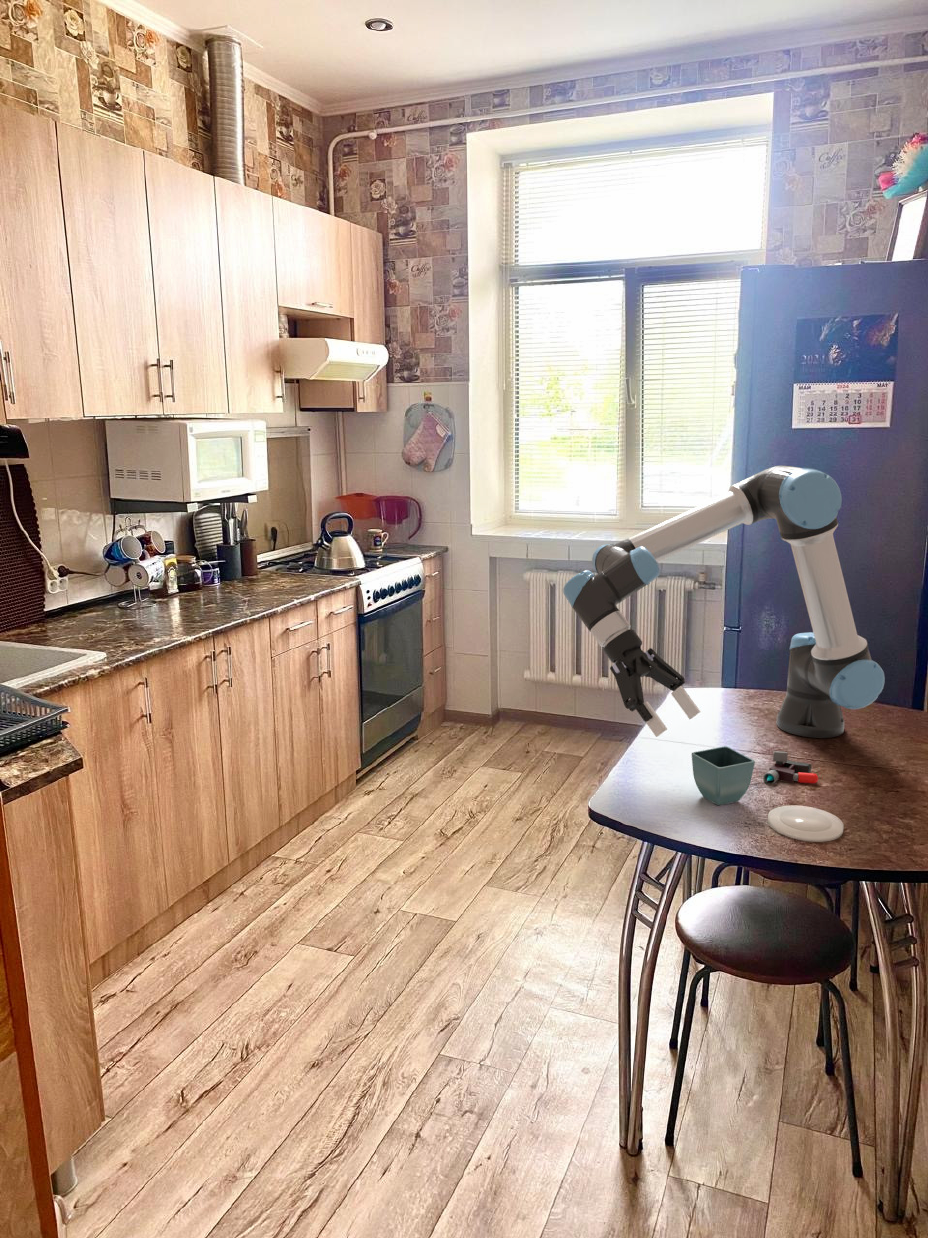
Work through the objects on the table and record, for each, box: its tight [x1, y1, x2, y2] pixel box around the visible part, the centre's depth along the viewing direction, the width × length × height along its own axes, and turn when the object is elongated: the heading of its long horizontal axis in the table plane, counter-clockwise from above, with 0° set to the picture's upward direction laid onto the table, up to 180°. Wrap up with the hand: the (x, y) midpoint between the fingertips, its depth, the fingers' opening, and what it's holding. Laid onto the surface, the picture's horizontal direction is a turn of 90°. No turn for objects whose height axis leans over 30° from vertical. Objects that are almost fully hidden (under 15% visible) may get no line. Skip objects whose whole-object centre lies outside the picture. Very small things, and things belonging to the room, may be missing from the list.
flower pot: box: [691, 745, 756, 806], centre depth 181 cm, size 9×9×9 cm
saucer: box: [767, 804, 844, 843], centre depth 170 cm, size 13×13×1 cm
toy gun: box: [763, 751, 819, 785], centre depth 191 cm, size 10×12×5 cm
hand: (679, 724), depth 184 cm, fingers open, 13 cm apart
